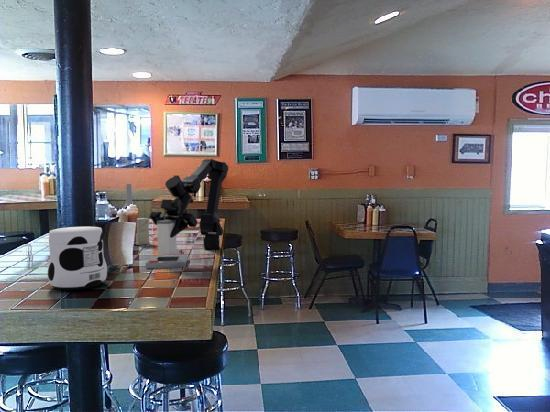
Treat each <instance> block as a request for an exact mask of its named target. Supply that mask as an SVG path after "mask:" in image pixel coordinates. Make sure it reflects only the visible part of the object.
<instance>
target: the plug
mask: <svg viewBox="0 0 550 412" xmlns="http://www.w3.org/2000/svg"><path fill="white" fill-rule="evenodd" d="M175 222H176V220H161V221H157V225H156V230H157V232H156V233H157V234H156V235H157V255H175V254H177V253H178V248H177V247H178V246H177V245H178V244H177V243H178V242H177V235H175V236H174V237H172V238H171V237H170V235H171V232H172V230H173V228H174V225H175Z"/></svg>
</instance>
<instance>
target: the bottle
mask: <svg viewBox="0 0 550 412" xmlns="http://www.w3.org/2000/svg"><path fill="white" fill-rule="evenodd" d="M125 184H126V186H125V188H126V201H125V202H126V203H125V204H124V205H123V208H122V210H123V209H124V208H126V207H127V206H129V205H130V204H133V205H135V204H134V202H133V195H132V194H133V193H132V183H125Z"/></svg>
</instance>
